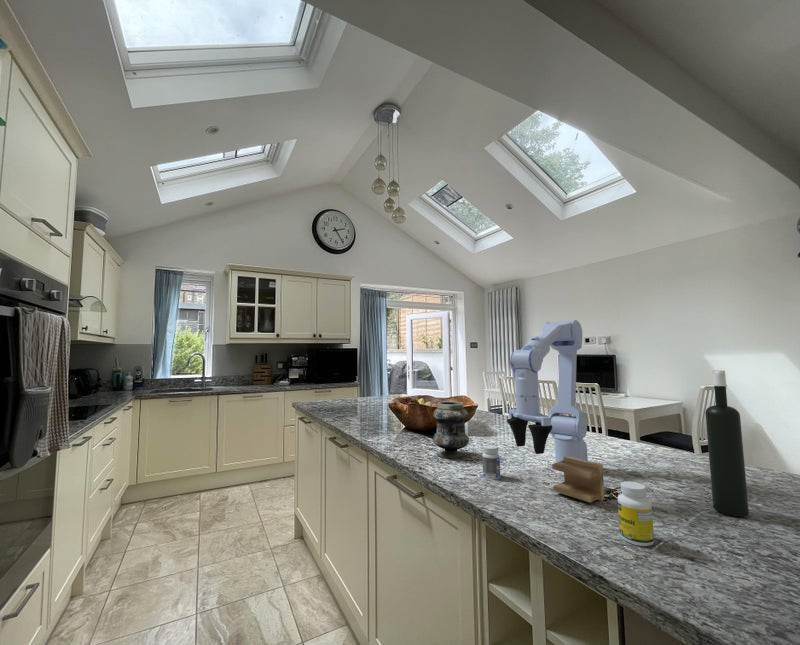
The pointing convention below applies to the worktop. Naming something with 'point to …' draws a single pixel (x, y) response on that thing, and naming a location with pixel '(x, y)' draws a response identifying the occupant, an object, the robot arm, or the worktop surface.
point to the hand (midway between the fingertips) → (529, 449)
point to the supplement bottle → (635, 514)
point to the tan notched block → (580, 479)
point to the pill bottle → (491, 462)
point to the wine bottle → (726, 453)
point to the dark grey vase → (450, 429)
